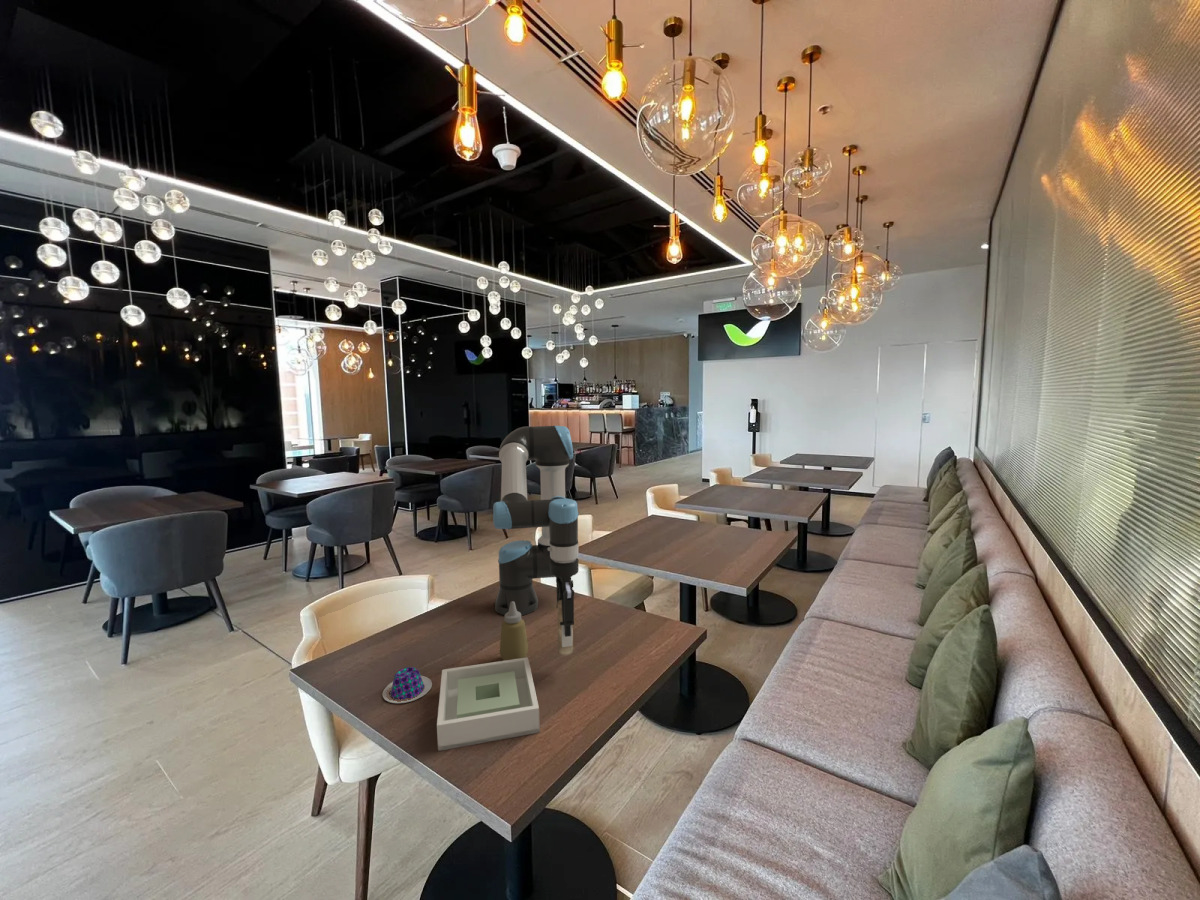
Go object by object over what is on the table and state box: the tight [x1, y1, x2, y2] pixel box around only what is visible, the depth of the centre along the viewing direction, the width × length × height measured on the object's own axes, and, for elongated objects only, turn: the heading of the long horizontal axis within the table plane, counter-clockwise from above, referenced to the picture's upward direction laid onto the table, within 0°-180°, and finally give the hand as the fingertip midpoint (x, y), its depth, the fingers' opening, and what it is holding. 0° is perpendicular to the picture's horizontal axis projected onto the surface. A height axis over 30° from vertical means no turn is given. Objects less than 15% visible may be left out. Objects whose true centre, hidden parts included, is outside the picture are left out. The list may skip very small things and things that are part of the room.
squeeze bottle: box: [499, 601, 529, 661], centre depth 140 cm, size 8×8×18 cm
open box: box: [436, 656, 541, 752], centre depth 120 cm, size 22×22×6 cm
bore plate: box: [457, 671, 520, 719], centre depth 120 cm, size 14×14×4 cm
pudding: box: [382, 666, 433, 704], centre depth 128 cm, size 12×12×5 cm
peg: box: [556, 600, 574, 656], centre depth 133 cm, size 4×4×14 cm
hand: (565, 641), depth 133 cm, fingers closed on peg, 4 cm apart
